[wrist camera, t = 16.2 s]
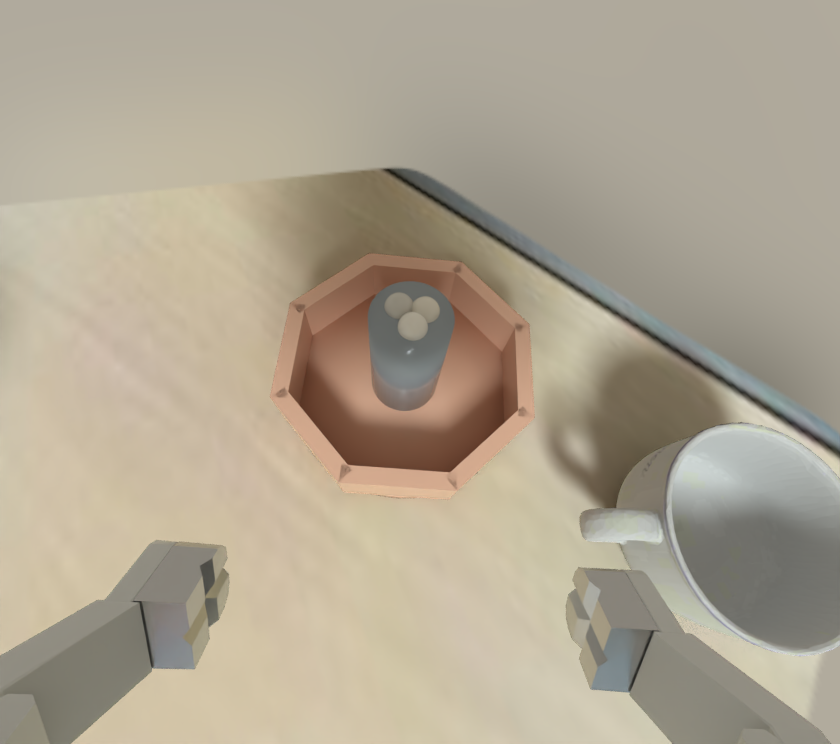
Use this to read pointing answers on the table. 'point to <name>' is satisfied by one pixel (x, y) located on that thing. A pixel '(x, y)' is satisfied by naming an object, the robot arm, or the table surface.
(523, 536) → the table surface
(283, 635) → the table surface
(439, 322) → the pebble cup
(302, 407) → the terracotta bowl
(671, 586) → the teacup
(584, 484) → the table surface
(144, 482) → the table surface
